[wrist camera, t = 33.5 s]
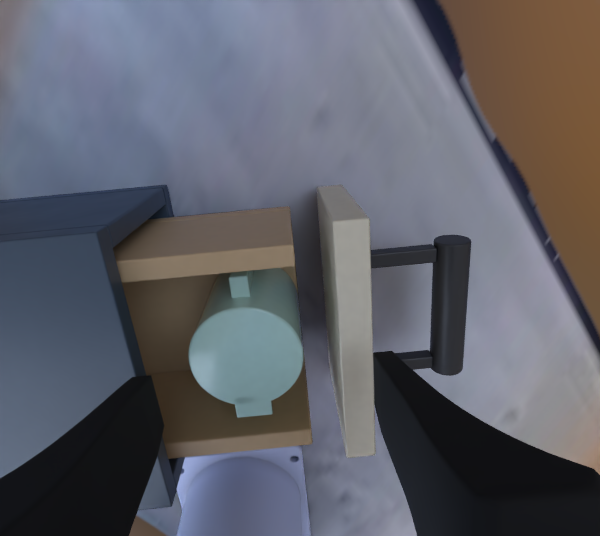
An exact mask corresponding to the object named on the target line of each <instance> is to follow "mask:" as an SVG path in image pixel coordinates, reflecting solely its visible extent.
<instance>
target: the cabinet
mask: <svg viewBox="0 0 600 536" xmlns="http://www.w3.org/2000/svg"><path fill="white" fill-rule="evenodd" d="M170 217H174V216H173V211H172V206H171V201H170V196H169V191H168V187H167V185H159V186H148V187H137V188H127V189H116V190H105V191H95V192H84V193H73V194H63V195H52V196H41V197H31V198H20V199H9V200H0V478H2V477H3V476H5V475H7V474H8V473H10V472H12V471H13V470H15V469H16V468H18V467H19V466H21V465H22V464H24V463H25V462H27V461H28V460H30V459H31V458H33V457H34V456H36V455H37V454H39V453H40V452H41V451H43V450H44V449H46V448H47V447H48V446H50V445H51V444H52V443H54V442H55V441H56V440H58V439H59V438H60V437H61V436H63V435H64V434H65V433H66V432H68V431H69V430H70V429H71V428H73V427H74V426H75V425H76V424H78V423H79V422H80V421H81V420H83V419H84V418H85V417H86V416H87V415H88V414H90V413H91V412H92V411H93V410H94V409H95V408H96V407H98V406H99V405H100V404H101V403H102V402H103V401H105V400H106V399H107V398H108V397H109V396H110V395H111V394H113V393H114V392H115V391H116V390H117V389H118V388H119V387H121V386H122V385H123V384H124V383H125V382H127V381H128V380H129V379H130V378H132V377H138V376H146V372H145V368H144V365H143V361H142V357H141V353H140V350H139V346H138V342H137V338H136V334H135V331H134V327H133V323H132V319H131V316H130V312H129V308H128V304H127V300H126V297H125V293H124V289H123V285H122V282H121V278H120V274H119V270H118V266H117V263H116V259H115V255H114V251H113V248H114V247H115V246H116V245H118V244H119V243H120V242H121V241H122V240H124V239H125V238H126V237H127V236H128V235H130V234H131V233H132V232H133V231H134V230H136V229H137V228H138V227H139V226H140V225H142V224H143V223H144V222H145V221H146V220H149V219H159V218H170ZM184 460H185V457H181V458H171V459H168V455H167V452H166V448H165V444H164V440H163V437H162V439H161V444H160V448H159V452H158V456H157V459H156V462H155V465H154V467H153V470H152V473H151V476H150V479H149V481H148V484H147V487H146V489H145V492H144V495H143V497H142V500H141V503H140V505H139V508H138V510H144V509H154V508H164V507H171V506H172V504H173V501H174V497H175V493H176V488H177V485H178V482H179V478H180V474H181V471H182V467H183V463H184Z"/></svg>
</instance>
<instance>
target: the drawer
mask: <svg viewBox="0 0 600 536" xmlns="http://www.w3.org/2000/svg"><path fill="white" fill-rule="evenodd" d="M317 201H318V215H319V230H320V244H321V258H322V272H323V286H324V300H325V314H326V328H327V342H328V356H329V368H330V374H331V379H332V384H333V390H334V395H335V400H336V405H337V411H338V416H339V421H340V426H341V432H342V437H343V442H344V448H345V453H346V457H347V458H353V457H363V456H373V455H375V454H376V450H375V410H374V370H373V330H372V290H371V268H381V267H391V266H402V265H412V264H422V263H433V278H432V308H431V338H430V352H429V351H428V350H423V351H413V352H403V353H395V354H396V355H397V356H398V357H399V358H400V359H401V360H402V361H403V362H404V363H406V364H407V365H408V366H409V367H410V368H411V369H412V370H414V369H424V368H431V369H432V370H433V371H435V372H436V373H439V374H442V375H456V374H458V373H460V372H461V371H462V369H463V355H464V340H465V325H466V311H467V296H468V281H469V267H470V252H471V240H470V239H469V238H468V237H465V236H460V235H443V236H439V237H436V238H435V239H434V246H433V245H432V244H429V245H418V246H408V247H398V248H387V249H377V250H370V219H369V217H368V216H367V215H366V214H365V213H364V211H363V210H362V209H361V208H360V206H359V205H358V204H357V203H356V201H355V200H354V199H353V198H352V197H351V195H350V194H349V193H348V192H347V190H346V189H345V188H344V187H343V185H331V186H321V187H317ZM113 251H114V255H115V259H116V263H117V266H118V270H119V274H120V278H121V282H122V285H123V289H124V293H125V297H126V300H127V304H128V308H129V312H130V316H131V319H132V323H133V327H134V331H135V334H136V338H137V342H138V346H139V350H140V353H141V357H142V361H143V365H144V368H145V372H146V376H148V375H151V377H152V380H153V384H154V388H155V392H156V396H157V399H158V403H159V407H160V411H161V415H162V418H163V422H164V430H163V434H162V437H163V440H164V444H165V448H166V452H167V455H168V459H171V458H181V457H191V456H201V455H211V454H221V453H231V452H241V451H251V450H260V449H270V448H280V447H290V446H300V445H310V444H312V431H311V421H310V411H309V400H308V390H307V380H306V369H305V359H304V360H303V366H302V370H301V373H300V375H299V377H298V379H297V380H296V382H295V383H294V384H293V385H292V387H291V388H290V389H289V390H288V391H286V392H285V393H284V394H283V395H281V396H280V397H278V398H276V399H274V400H272V402H273V414H271V415H261V416H250V417H240V418H237V415H236V409H235V404H231V403H227V402H224V401H222V400H219V399H217V398H216V397H214V396H212V395H211V394H209V393H208V392H206V391H205V390H204V389H203V388H202V387H201V386H200V385H199V383H198V382H197V381H196V379H195V378H194V376H193V373H192V371H191V368H190V365H189V359H188V350H189V344H190V341H191V338H192V336H193V333H194V331H195V328H196V325H197V323H198V320H199V318H200V315H201V313H202V310H203V307H204V305H205V302H206V300H207V297H208V294H209V292H210V289H211V287H212V284H213V282H214V280H215V279H216V277H217V276H218V275H219V274H221V273H231V272H242V271H252V270H263V269H273V268H281V269H283V270H284V271H285V272H286V273H287V274H288V275H289V276H290V277H291V279H292V280H293V282H294V284H295V286H296V289H297V293H298V286H297V276H296V265H295V255H294V244H293V234H292V224H291V213H290V207H288V206H286V207H276V208H265V209H254V210H244V211H233V212H223V213H212V214H202V215H191V216H181V217H170V218H159V219H149V220H146V221H145V222H144V223H143V224H142V225H140V226H139V227H138V228H137V229H136V230H134V231H133V232H132V233H131V234H130V235H128V236H127V237H126V238H125V239H124V240H122V241H121V242H120V243H119V244H118V245H116V246H115V247H114V248H113ZM298 300H299V297H298ZM299 310H300V307H299ZM300 321H301V317H300ZM301 331H302V328H301ZM302 342H303V338H302ZM303 352H304V349H303Z"/></svg>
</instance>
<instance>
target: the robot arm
mask: <svg viewBox="0 0 600 536" xmlns="http://www.w3.org/2000/svg"><path fill="white" fill-rule="evenodd" d="M373 370H374V404H375V408H376V413H377V417H378V421H379V425H380V429H381V433H382V435H383V438H384V441H385V443H386V446H387V449H388V451H389V454H390V457H391V459H392V462H393V464H394V467H395V470H396V472H397V475H398V478H399V480H400V483H401V485H402V488H403V491H404V493H405V496H406V499H407V502H408V505H409V508H410V511H411V514H412V518H413V522H414V525H415V529H416V532H417V536H600V475H599V474H598V473H597V472H596V471H595V470H594V469H592V468H590V467H587V466H584V465H581V464H578V463H575V462H572V461H569V460H567V459H564V458H561V457H558V456H555V455H552V454H550V453H547V452H545V451H543V450H540V449H538V448H535V447H533V446H531V445H528V444H526V443H524V442H522V441H520V440H517V439H515V438H513V437H511V436H509V435H507V434H505V433H503V432H501V431H499V430H497V429H495V428H494V427H492V426H490V425H488V424H486V423H484V422H483V421H481V420H479V419H478V418H476V417H474V416H473V415H471V414H470V413H468V412H466V411H465V410H463V409H462V408H460V407H459V406H457V405H456V404H454V403H453V402H451V401H450V400H449V399H447V398H446V397H445V396H443V395H442V394H440V393H439V392H438V391H437V390H435V389H434V388H433V387H432V386H431V385H429V384H428V383H427V382H426V381H425V380H423V379H422V378H421V377H420V376H419V375H418V374H417V373H415V372H414V371H413V370H412V369H411V368H410V367H409V366H408V365H407V364H406V363H404V362H403V361H402V360H401V359H400V358H399V357H398V356H397V355H396V354H395V353H394V352H392V351H385V352H376V353H373ZM163 430H164V422H163V418H162V415H161V411H160V407H159V403H158V399H157V396H156V392H155V388H154V384H153V380H152V377H151V375H148V376H138V377H132V378H130V379H129V380H128V381H127V382H125V383H124V384H123V385H122V386H121V387H119V388H118V389H117V390H116V391H115V392H114V393H113V394H111V395H110V396H109V397H108V398H107V399H106V400H105V401H103V402H102V403H101V404H100V405H99V406H98V407H96V408H95V409H94V410H93V411H92V412H91V413H90V414H88V415H87V416H86V417H85V418H84V419H83V420H81V421H80V422H79V423H78V424H76V425H75V426H74V427H73V428H71V429H70V430H69V431H68V432H66V433H65V434H64V435H63V436H61V437H60V438H59V439H58V440H56V441H55V442H54V443H52V444H51V445H50V446H48V447H47V448H46V449H44V450H43V451H41V452H40V453H39V454H37V455H36V456H34V457H33V458H31V459H30V460H28V461H27V462H25V463H24V464H22V465H21V466H19V467H18V468H16V469H15V470H13V471H12V472H10V473H8V474H7V475H5V476H3V477H2V478H0V536H129V533H130V530H131V527H132V524H133V521H134V519H135V516H136V514H137V511H138V508H139V505H140V503H141V500H142V497H143V495H144V492H145V489H146V487H147V484H148V481H149V479H150V476H151V473H152V470H153V467H154V465H155V462H156V459H157V456H158V452H159V448H160V444H161V439H162V434H163ZM292 456H297V457H292ZM182 468H183V469H182V471H181V474H180V478H179V482H178V485H177V488H176V489H177V492H178V496H179V500H180V504H181V507H182V515H181V520H180V524H179V528H178V532H177V536H311V529H310V520H309V511H308V502H307V492H306V483H305V474H304V465H303V456H302V447H301V445H300V446H290V447H280V448H270V449H260V450H251V451H241V452H231V453H221V454H211V455H201V456H191V457H185V460H184V463H183V467H182Z"/></svg>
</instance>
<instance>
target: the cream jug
mask: <svg viewBox="0 0 600 536" xmlns="http://www.w3.org/2000/svg"><path fill="white" fill-rule="evenodd" d="M188 359H189V365H190V368H191V371H192V373H193V376H194V378H195V379H196V381H197V382H198V383H199V385H200V386H201V387H202V388H203V389H204V390H205V391H206V392H208V393H209V394H211V395H212V396H214V397H216V398H217V399H219V400H222V401H224V402H227V403H231V404H235V409H236V415H237V418H240V417H250V416H261V415H271V414H273V402H272V400H274V399H276V398H278V397H280V396H281V395H283V394H284V393H285V392H286V391H288V390H289V389H290V388H291V387H292V385H293V384H294V383H295V382H296V380H297V379H298V377H299V375H300V373H301V370H302V366H303V360H304V352H303V342H302V331H301V321H300V310H299V300H298V293H297V289H296V286H295V284H294V282H293V280H292V279H291V277H290V276H289V275H288V274H287V273H286V272H285V271H284V270H283V269H281V268H273V269H263V270H252V271H242V272H231V273H221V274H219V275H218V276H217V277H216V279H215V280H214V282H213V284H212V287H211V289H210V292H209V294H208V297H207V300H206V302H205V305H204V307H203V310H202V313H201V315H200V318H199V320H198V323H197V325H196V328H195V331H194V333H193V336H192V338H191V341H190V344H189V350H188Z"/></svg>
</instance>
